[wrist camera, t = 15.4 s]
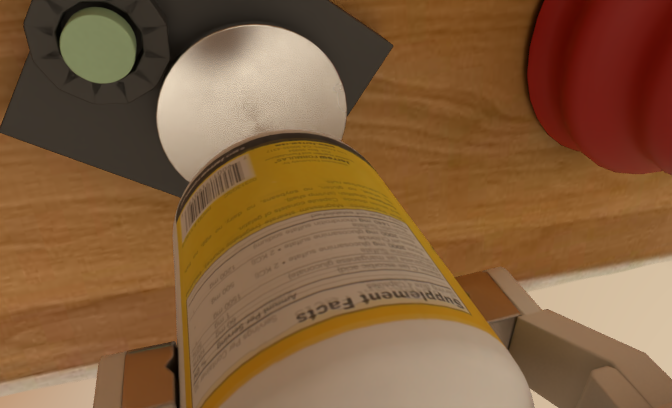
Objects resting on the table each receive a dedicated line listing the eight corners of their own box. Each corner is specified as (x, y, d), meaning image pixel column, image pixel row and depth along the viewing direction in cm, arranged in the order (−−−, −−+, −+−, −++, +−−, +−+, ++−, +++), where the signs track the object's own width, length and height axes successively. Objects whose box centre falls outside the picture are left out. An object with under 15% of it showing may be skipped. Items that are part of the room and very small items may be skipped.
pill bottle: (312, 312, 18) (472, 770, 9) (134, 265, 15) (97, 912, 6) (416, 169, 16) (769, 580, 7) (234, 78, 13) (438, 634, 3)
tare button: (54, 53, 22) (48, 63, 21) (79, -7, 22) (74, 0, 20) (121, 83, 24) (119, 95, 23) (147, 28, 23) (146, 37, 22)
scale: (-1, 110, 26) (-22, 143, 23) (100, -156, 22) (91, -160, 19) (266, 211, 35) (277, 245, 32) (379, 34, 30) (405, 54, 27)
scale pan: (123, 157, 26) (122, 162, 25) (212, -22, 22) (213, -19, 22) (286, 218, 31) (288, 224, 30) (377, 81, 28) (381, 84, 27)
